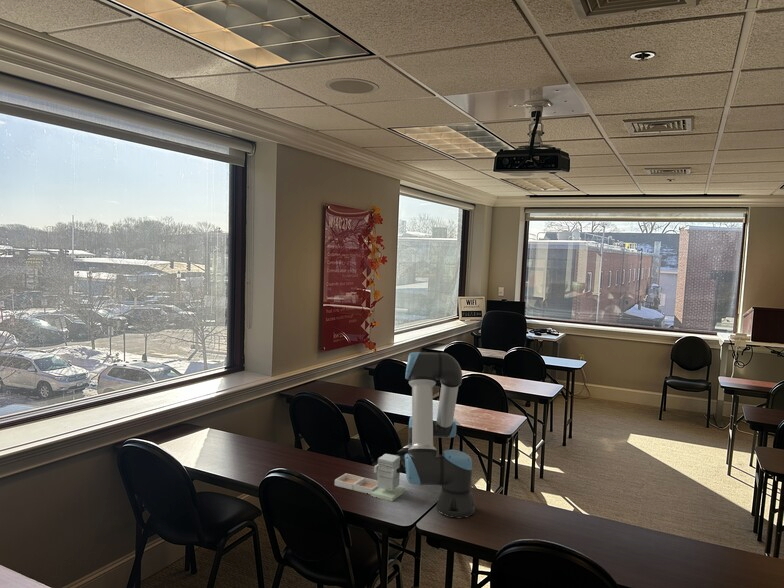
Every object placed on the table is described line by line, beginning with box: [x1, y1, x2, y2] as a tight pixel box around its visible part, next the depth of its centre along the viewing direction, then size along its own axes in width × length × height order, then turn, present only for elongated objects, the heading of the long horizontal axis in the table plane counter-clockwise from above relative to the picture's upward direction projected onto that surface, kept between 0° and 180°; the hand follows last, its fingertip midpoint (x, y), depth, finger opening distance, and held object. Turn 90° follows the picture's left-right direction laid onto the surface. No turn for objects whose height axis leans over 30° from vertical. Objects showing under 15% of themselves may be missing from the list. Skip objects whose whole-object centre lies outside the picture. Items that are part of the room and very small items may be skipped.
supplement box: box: [377, 453, 401, 491], centre depth 236 cm, size 7×7×13 cm
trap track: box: [334, 473, 406, 502], centre depth 240 cm, size 29×12×2 cm, turn 63°
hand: (383, 471), depth 231 cm, fingers closed on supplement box, 7 cm apart
